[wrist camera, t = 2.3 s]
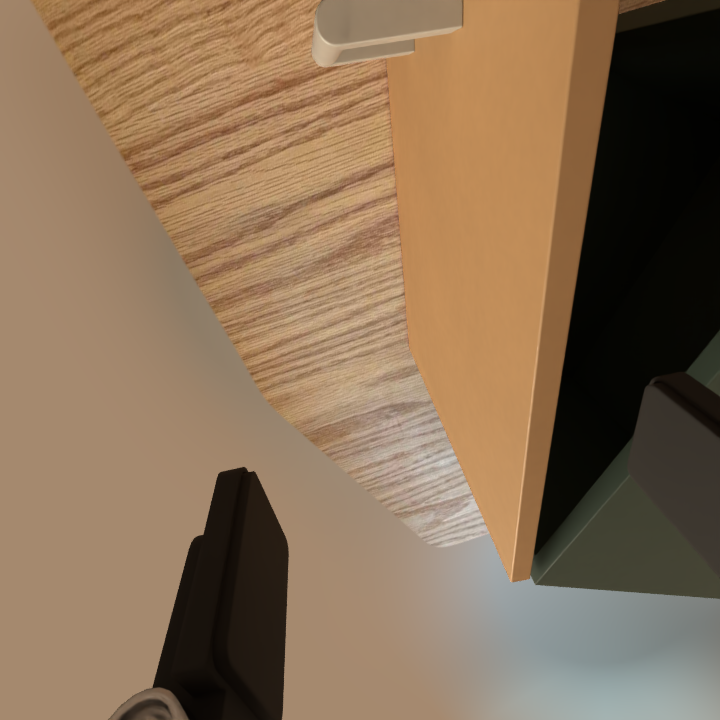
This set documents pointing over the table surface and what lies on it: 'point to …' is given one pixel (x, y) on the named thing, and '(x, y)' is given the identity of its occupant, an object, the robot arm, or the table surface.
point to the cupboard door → (488, 215)
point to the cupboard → (638, 305)
